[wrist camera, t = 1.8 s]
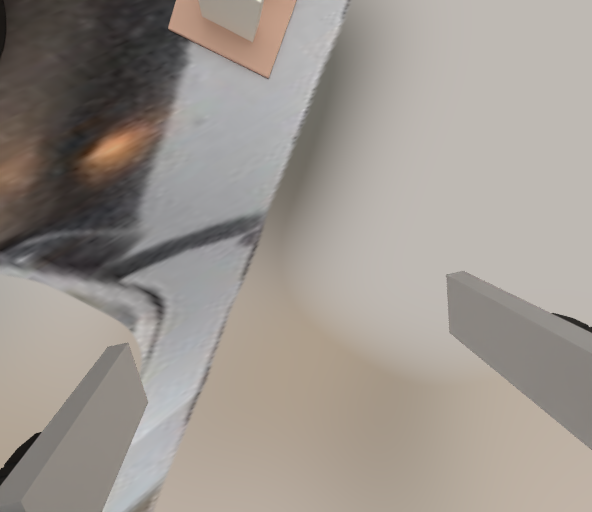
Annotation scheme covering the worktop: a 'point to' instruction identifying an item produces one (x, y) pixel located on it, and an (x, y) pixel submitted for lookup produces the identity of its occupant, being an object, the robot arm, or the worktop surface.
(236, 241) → the worktop surface
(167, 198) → the worktop surface
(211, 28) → the mat
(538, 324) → the robot arm
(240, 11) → the domino
